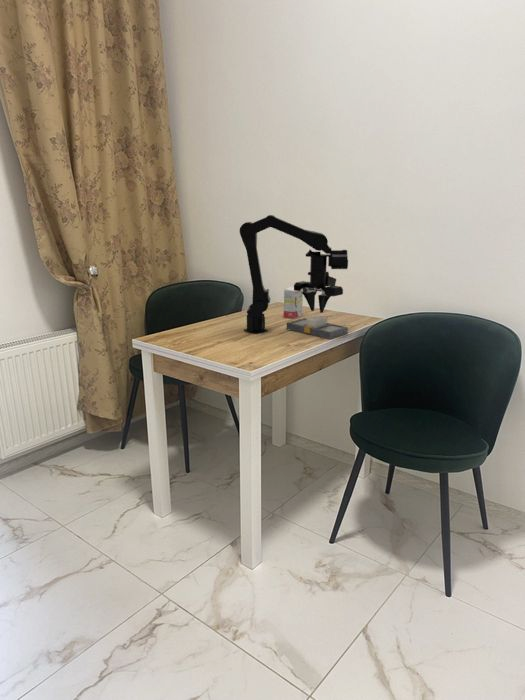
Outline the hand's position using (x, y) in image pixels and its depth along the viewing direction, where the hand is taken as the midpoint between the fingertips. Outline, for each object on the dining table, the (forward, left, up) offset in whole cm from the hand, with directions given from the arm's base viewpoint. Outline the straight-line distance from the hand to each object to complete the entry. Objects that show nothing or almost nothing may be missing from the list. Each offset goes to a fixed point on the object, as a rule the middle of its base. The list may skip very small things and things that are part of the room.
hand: (317, 311), depth 182 cm
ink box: (+13, +23, -8) cm, 28 cm away
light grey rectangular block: (0, 0, -7) cm, 7 cm away
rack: (0, 0, -8) cm, 8 cm away
